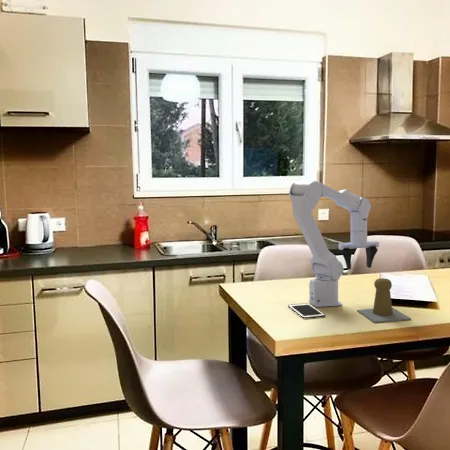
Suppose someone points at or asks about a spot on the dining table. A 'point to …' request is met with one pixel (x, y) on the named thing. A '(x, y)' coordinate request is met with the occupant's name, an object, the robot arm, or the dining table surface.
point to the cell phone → (306, 310)
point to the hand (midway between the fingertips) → (358, 267)
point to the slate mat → (377, 319)
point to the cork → (383, 297)
